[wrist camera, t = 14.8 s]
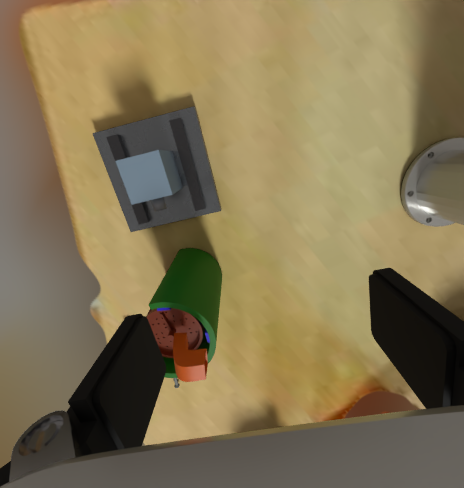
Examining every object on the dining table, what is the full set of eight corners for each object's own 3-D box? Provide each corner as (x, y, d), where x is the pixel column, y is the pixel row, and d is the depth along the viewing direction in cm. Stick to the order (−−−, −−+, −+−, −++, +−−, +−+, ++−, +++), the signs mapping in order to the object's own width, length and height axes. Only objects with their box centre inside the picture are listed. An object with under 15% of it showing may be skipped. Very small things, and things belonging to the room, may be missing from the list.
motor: (160, 253, 41) (100, 338, 22) (214, 242, 40) (200, 319, 21) (178, 306, 44) (139, 419, 25) (227, 296, 43) (226, 405, 24)
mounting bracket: (195, 108, 34) (193, 104, 31) (221, 208, 38) (220, 212, 36) (98, 134, 34) (88, 132, 32) (134, 229, 39) (128, 233, 37)
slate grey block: (172, 150, 34) (158, 149, 27) (186, 198, 36) (176, 208, 29) (137, 159, 34) (115, 160, 28) (153, 206, 36) (136, 217, 30)
